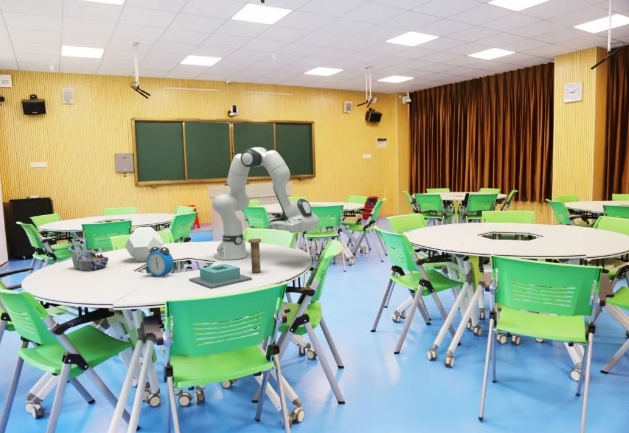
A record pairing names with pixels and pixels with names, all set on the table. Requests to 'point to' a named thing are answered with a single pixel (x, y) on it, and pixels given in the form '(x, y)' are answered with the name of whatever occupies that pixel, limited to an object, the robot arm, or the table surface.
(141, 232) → the geometric form
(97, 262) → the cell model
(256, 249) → the pin
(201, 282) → the socket board
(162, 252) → the alarm clock
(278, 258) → the table surface
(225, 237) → the robot arm
